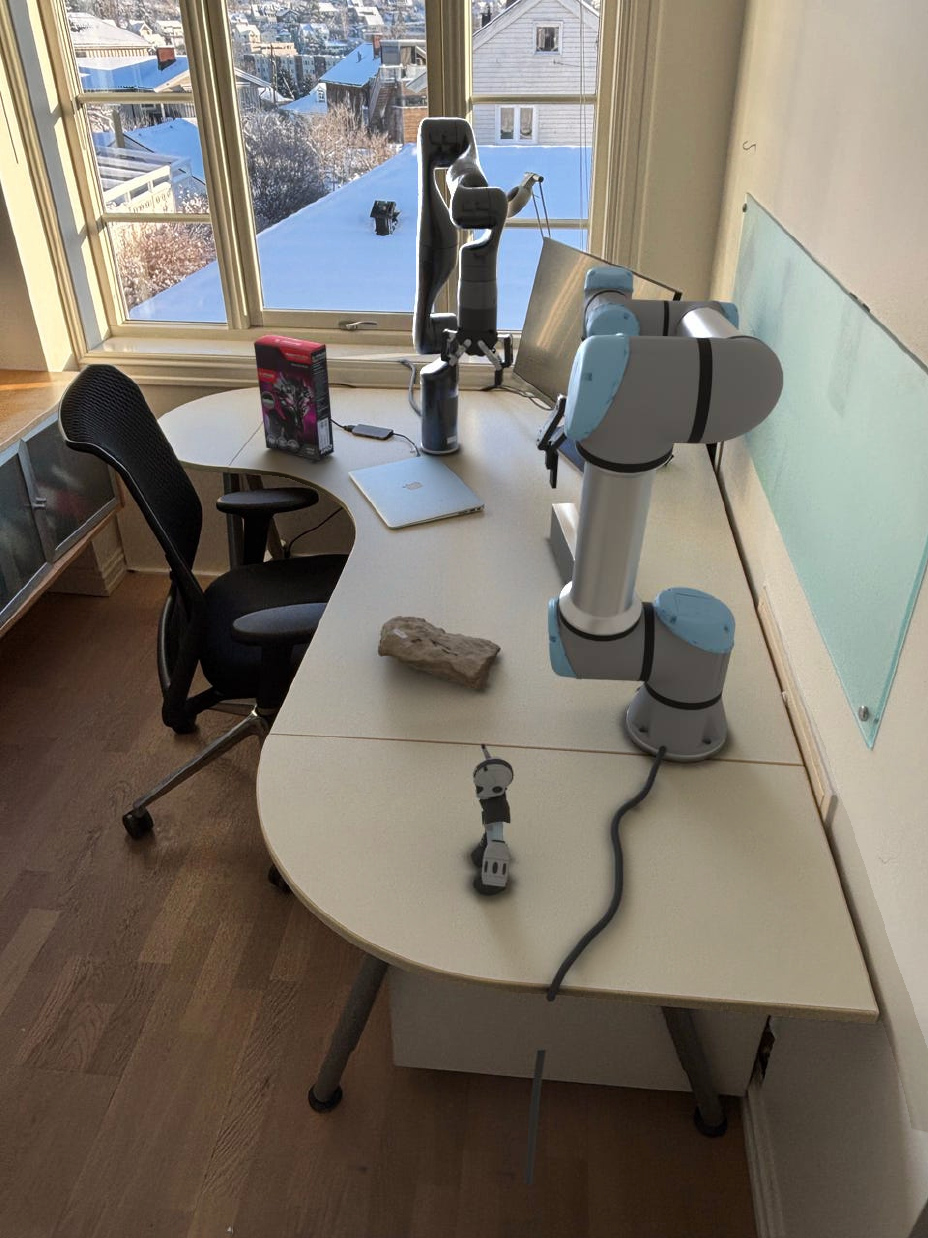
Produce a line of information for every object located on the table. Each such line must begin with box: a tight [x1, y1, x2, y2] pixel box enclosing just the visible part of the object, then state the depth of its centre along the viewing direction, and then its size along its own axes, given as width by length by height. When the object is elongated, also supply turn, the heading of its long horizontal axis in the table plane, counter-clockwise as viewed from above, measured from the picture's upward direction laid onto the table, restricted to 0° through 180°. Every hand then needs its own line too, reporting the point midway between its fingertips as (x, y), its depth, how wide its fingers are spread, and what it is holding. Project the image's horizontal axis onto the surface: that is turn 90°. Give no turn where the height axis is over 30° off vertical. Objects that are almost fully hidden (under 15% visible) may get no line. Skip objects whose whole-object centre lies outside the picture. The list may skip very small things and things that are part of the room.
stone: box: [377, 615, 502, 691], centre depth 155 cm, size 21×15×6 cm
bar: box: [549, 502, 580, 586], centre depth 181 cm, size 25×5×8 cm, turn 6°
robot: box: [470, 743, 515, 896], centre depth 114 cm, size 20×5×20 cm, turn 3°
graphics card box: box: [253, 333, 335, 461], centre depth 223 cm, size 17×7×27 cm, turn 62°
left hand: (476, 384), depth 184 cm, fingers open, 8 cm apart
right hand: (590, 484), depth 164 cm, fingers open, 13 cm apart
